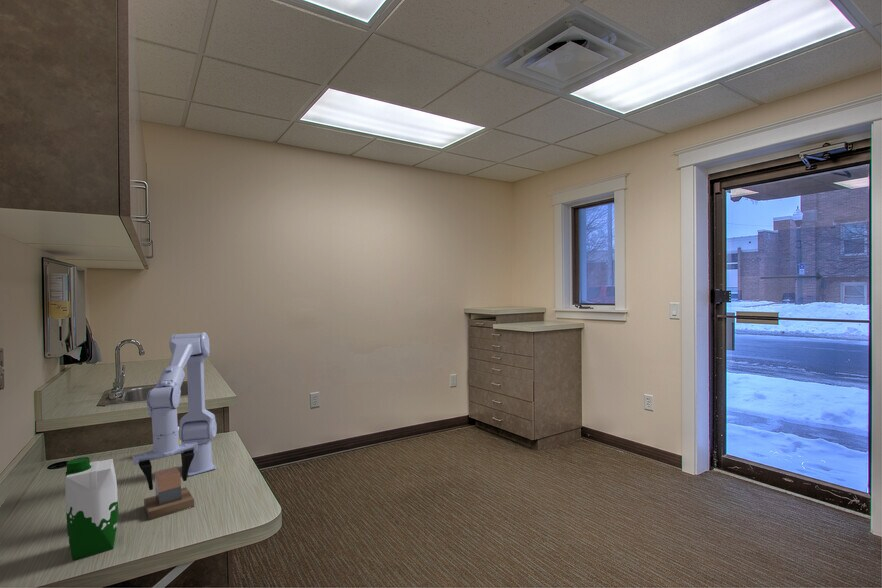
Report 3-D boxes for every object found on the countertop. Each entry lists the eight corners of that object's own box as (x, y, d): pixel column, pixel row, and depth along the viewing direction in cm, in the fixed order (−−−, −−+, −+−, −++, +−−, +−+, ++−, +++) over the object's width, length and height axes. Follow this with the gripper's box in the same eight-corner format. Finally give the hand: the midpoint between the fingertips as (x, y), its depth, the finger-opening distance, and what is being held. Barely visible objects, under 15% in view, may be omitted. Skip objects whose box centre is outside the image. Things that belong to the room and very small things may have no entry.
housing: (159, 506, 116) (158, 478, 116) (155, 498, 121) (154, 472, 121) (181, 499, 120) (180, 472, 119) (177, 492, 124) (176, 466, 124)
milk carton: (71, 545, 103) (66, 457, 103) (120, 532, 108) (116, 448, 108) (66, 564, 95) (61, 469, 95) (119, 549, 101) (114, 458, 100)
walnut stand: (144, 506, 121) (143, 498, 121) (186, 494, 127) (186, 487, 127) (149, 520, 113) (149, 512, 113) (194, 506, 120) (193, 499, 120)
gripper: (134, 443, 112) (136, 497, 113) (199, 429, 122) (201, 480, 122) (131, 436, 118) (133, 489, 118) (193, 424, 127) (196, 472, 127)
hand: (168, 484), depth 120 cm, fingers open, 7 cm apart
